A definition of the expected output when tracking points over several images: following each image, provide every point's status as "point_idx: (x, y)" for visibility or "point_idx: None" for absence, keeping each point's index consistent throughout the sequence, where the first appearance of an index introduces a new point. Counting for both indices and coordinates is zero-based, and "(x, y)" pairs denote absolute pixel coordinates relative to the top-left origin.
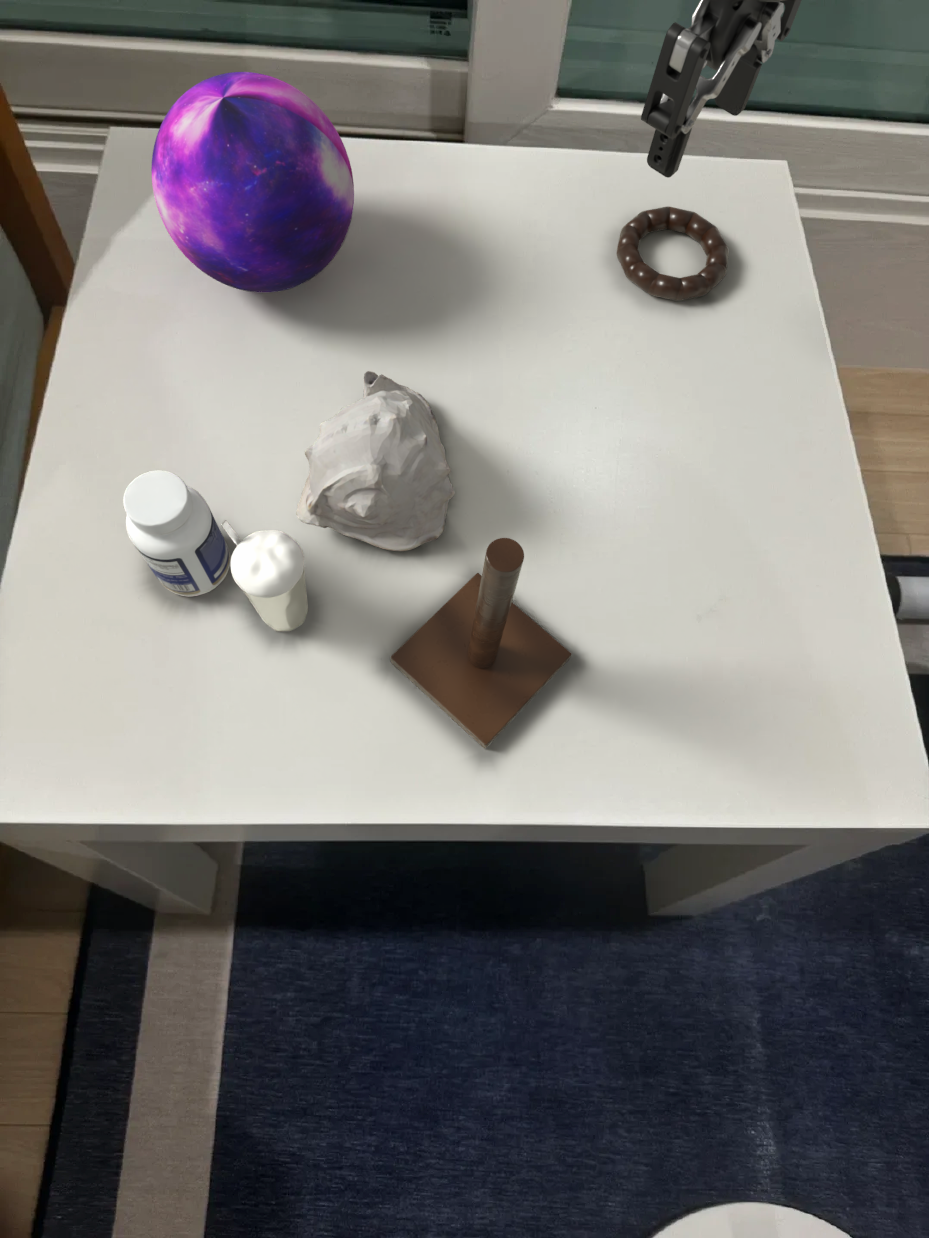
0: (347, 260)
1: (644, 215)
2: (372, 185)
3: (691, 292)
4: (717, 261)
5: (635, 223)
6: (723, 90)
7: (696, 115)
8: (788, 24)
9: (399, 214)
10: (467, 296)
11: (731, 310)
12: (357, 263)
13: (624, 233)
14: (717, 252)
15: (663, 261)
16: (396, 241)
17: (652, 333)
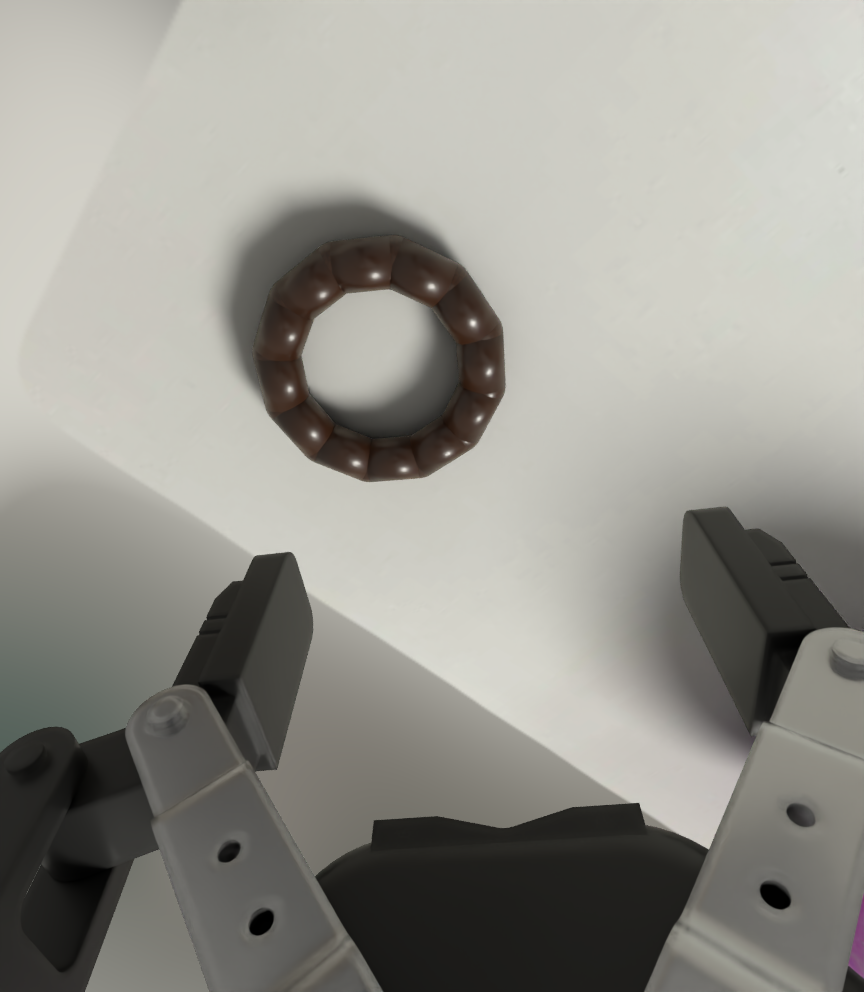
0: None
1: (375, 472)
2: (656, 746)
3: (437, 258)
4: (330, 280)
5: (406, 469)
6: (299, 648)
7: (819, 681)
8: (14, 799)
9: (675, 696)
10: None
11: (366, 160)
12: None
13: (440, 465)
14: (310, 300)
15: (394, 369)
16: None
17: (567, 241)
